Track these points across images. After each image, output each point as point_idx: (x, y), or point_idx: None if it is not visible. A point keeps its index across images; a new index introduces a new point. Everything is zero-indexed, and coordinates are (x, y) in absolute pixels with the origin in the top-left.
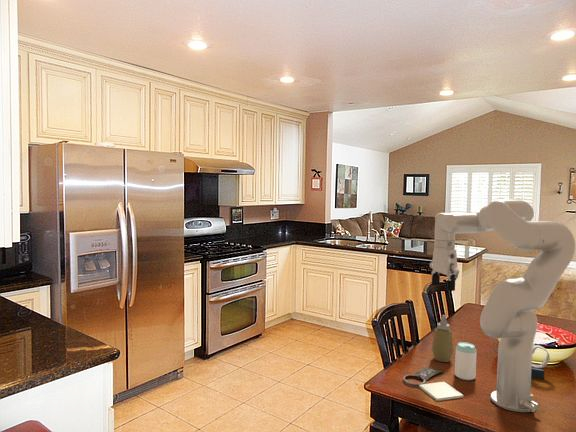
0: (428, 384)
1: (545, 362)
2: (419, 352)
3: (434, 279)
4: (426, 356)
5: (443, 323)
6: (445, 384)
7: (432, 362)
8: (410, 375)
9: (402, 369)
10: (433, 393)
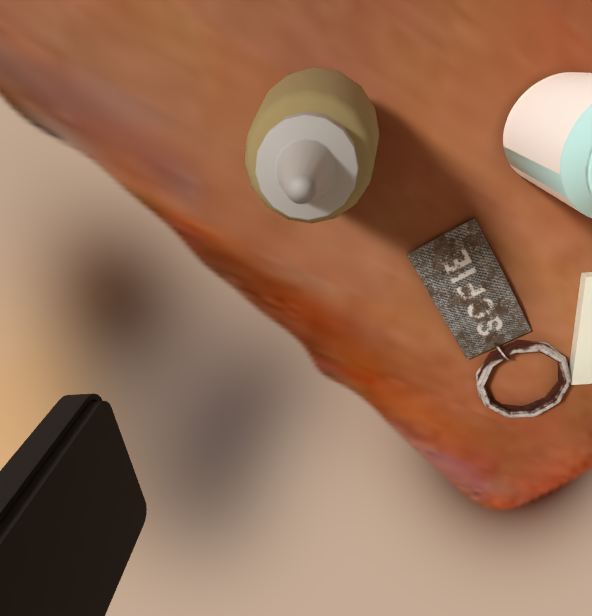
0: (582, 351)
1: None
2: (211, 208)
3: (89, 610)
4: None
5: (329, 188)
6: None
7: None
8: (485, 381)
9: (397, 369)
10: None
